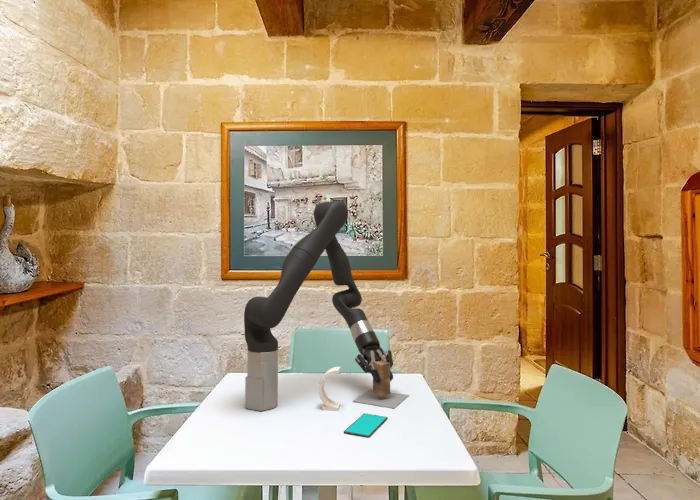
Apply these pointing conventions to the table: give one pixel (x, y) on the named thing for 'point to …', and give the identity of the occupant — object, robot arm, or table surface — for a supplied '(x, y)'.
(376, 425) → the smartphone
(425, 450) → the table surface
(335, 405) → the headphone stand
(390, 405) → the mat
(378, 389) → the walnut block
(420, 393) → the table surface
